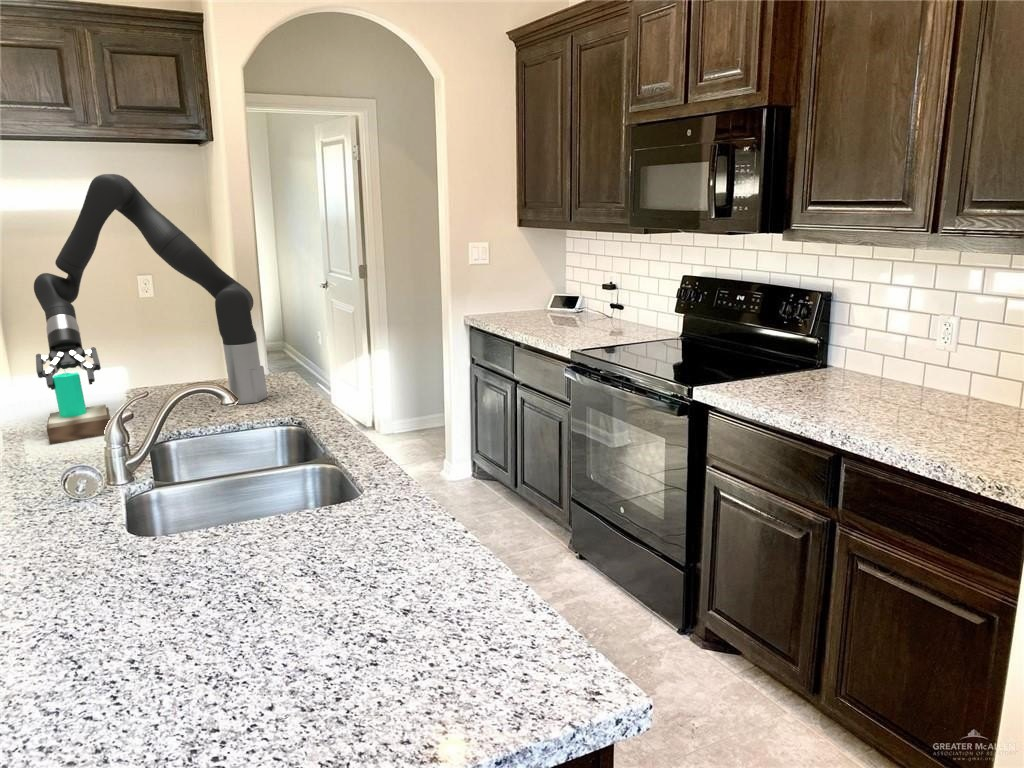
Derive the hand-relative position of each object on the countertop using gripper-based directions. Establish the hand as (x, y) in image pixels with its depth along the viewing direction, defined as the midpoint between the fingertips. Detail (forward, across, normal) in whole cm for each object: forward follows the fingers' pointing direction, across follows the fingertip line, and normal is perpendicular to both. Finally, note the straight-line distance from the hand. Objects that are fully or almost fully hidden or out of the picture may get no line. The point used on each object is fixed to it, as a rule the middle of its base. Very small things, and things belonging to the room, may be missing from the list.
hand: (71, 385), depth 193 cm
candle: (+5, -1, +6) cm, 8 cm away
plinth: (+9, 0, +9) cm, 13 cm away
